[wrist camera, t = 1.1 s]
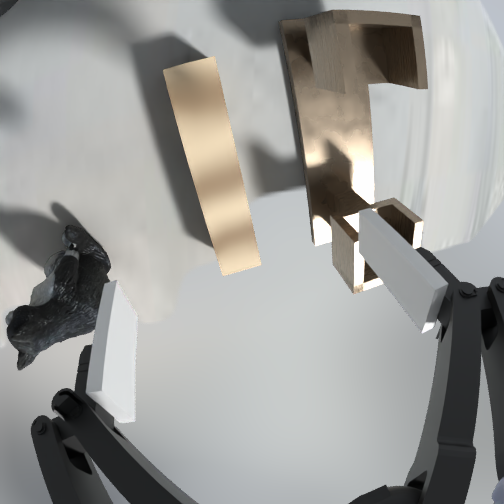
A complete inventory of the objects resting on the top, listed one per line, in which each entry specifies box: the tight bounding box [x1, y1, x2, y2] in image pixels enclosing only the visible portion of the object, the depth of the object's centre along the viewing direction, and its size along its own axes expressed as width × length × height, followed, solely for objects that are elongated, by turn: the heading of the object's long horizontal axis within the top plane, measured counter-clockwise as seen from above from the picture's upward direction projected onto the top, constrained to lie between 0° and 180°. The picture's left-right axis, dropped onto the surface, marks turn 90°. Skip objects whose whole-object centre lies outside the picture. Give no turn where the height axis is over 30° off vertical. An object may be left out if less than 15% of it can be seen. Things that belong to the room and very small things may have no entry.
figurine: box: [6, 226, 111, 370], centre depth 25 cm, size 10×10×15 cm
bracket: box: [279, 10, 428, 294], centre depth 26 cm, size 25×8×10 cm, turn 11°
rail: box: [163, 56, 261, 276], centre depth 27 cm, size 20×4×5 cm, turn 11°
